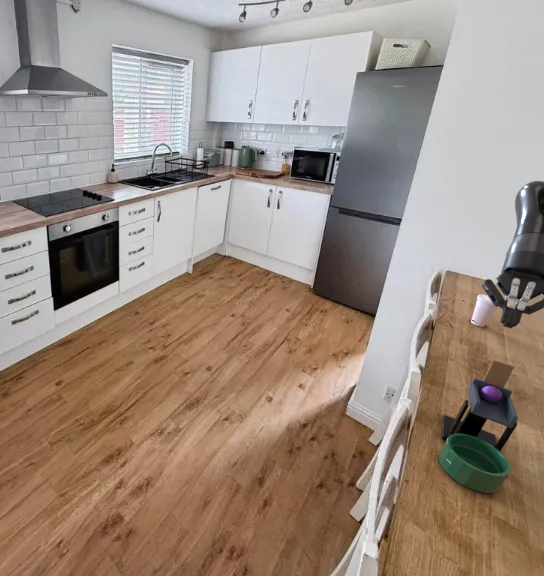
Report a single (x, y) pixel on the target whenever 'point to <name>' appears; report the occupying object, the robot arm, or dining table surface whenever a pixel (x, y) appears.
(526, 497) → the dining table surface
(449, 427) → the stand
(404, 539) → the dining table surface
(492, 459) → the bowl
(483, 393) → the ball
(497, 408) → the chute
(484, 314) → the smoothie
